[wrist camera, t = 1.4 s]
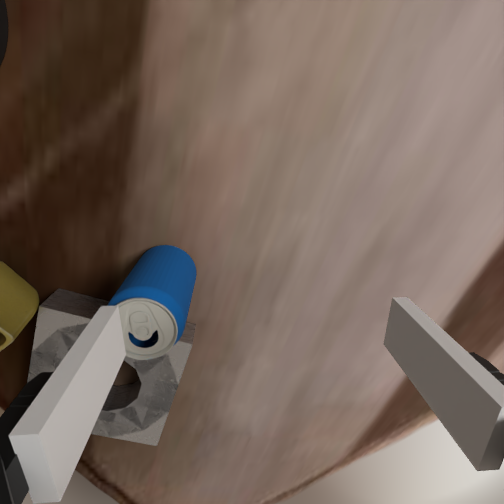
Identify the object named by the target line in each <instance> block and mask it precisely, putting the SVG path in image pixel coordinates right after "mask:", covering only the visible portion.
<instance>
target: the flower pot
mask: <svg viewBox="0 0 504 504" xmlns="http://www.w3.org/2000/svg"><path fill="white" fill-rule="evenodd" d="M38 305H39V296H38V293H37V291H36V290H35V289H34V288H33V287H32V286H31V285H29V284H28V283H27V282H26V281H25V280H24V279H22V278H21V277H20V276H19V275H18V274H16V273H15V272H14V271H13V270H12V269H11V268H10V267H8V266H7V265H6V264H5V263H3V262H2V261H0V351H1V350H3V349H4V348H5V347H7V346H8V345H9V344H11V343H12V342H13V341H14V340H15V338H16V337H17V336H18V335H19V333H20V332H21V331H22V330H23V328H24V327H25V326H26V325H27V323H28V322H29V321H30V320H31V318H32V317H33V316H34V314H35V313H36V311H37V309H38Z"/></svg>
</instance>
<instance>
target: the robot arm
mask: <svg viewBox="0 0 504 504" xmlns="http://www.w3.org/2000/svg"><path fill="white" fill-rule="evenodd" d="M7 39H8V17H7V10H6V4H5V0H0V65H1V63H2V60H3V58H4V54H5V51H6V46H7ZM384 345H385V347H386V348H387V349H388V351H389V352H390V353H391V355H392V356H393V357H394V359H395V360H396V362H397V363H398V364H399V366H400V367H401V368H402V370H403V371H404V372H405V374H406V375H407V376H408V378H409V379H410V381H411V382H412V383H413V385H414V386H415V387H416V389H417V390H418V391H419V393H420V394H421V395H422V397H423V398H424V399H425V401H426V402H427V404H428V405H429V406H430V408H431V409H432V410H433V412H434V413H435V414H436V416H437V417H438V418H439V420H440V421H441V423H442V424H443V425H444V427H445V428H446V429H447V431H448V432H449V433H450V435H451V436H452V437H453V439H454V440H455V441H456V443H457V444H458V446H459V447H460V448H461V450H462V451H463V452H464V454H465V455H466V456H467V458H468V459H469V461H470V462H471V463H472V465H473V466H474V467H475V469H476V470H477V471H485V470H498V469H499V468H500V466H501V464H502V462H503V459H504V374H502V373H500V372H499V370H498V369H497V368H496V367H494V366H493V365H492V364H491V363H490V362H489V361H487V360H486V359H484V358H482V357H480V356H479V355H477V354H475V353H474V352H473V353H468V352H467V351H466V350H465V349H463V348H462V347H461V346H460V345H459V344H458V343H457V342H456V341H455V340H454V339H453V338H451V337H450V336H449V335H448V334H447V333H446V332H445V331H444V330H443V329H442V328H441V327H439V326H438V325H437V324H436V323H435V322H434V321H433V320H432V319H431V318H430V317H429V316H427V315H426V314H425V313H424V312H423V311H422V310H421V309H420V308H419V307H418V306H417V305H416V304H414V303H413V302H412V301H411V300H410V299H409V298H408V297H393V298H392V303H391V308H390V313H389V318H388V324H387V329H386V334H385V339H384ZM125 356H126V351H125V345H124V339H123V333H122V327H121V320H120V314H119V308H118V306H101V307H100V308H99V310H98V311H97V312H96V314H95V315H94V317H93V318H92V319H91V321H90V322H89V324H88V325H87V326H86V328H85V329H84V331H83V332H82V333H81V335H80V336H79V338H78V339H77V340H76V342H75V343H74V345H73V346H72V347H71V349H70V350H69V352H68V353H67V354H66V356H65V357H64V359H63V360H62V361H61V363H60V364H59V366H58V367H57V368H56V370H55V371H54V372H41V373H40V374H38V375H37V376H36V377H34V378H33V379H32V380H30V381H29V382H28V383H27V384H26V385H25V386H24V388H23V389H22V390H21V391H20V393H19V394H18V397H16V398H15V399H14V400H13V402H12V403H11V404H10V407H9V408H7V409H6V410H5V412H4V413H3V414H2V416H1V417H0V504H21V503H22V502H23V500H24V498H25V496H26V494H27V493H28V491H29V493H30V496H31V499H32V502H33V503H48V502H60V501H61V499H62V496H63V494H64V492H65V490H66V487H67V485H68V483H69V481H70V479H71V476H72V474H73V472H74V470H75V467H76V465H77V463H78V461H79V458H80V456H81V454H82V452H83V450H84V447H85V445H86V443H87V441H88V438H89V436H90V434H91V432H92V429H93V427H94V425H95V423H96V420H97V418H98V416H99V414H100V412H101V409H102V407H103V405H104V403H105V400H106V398H107V396H108V394H109V391H110V389H111V387H112V385H113V382H114V380H115V378H116V376H117V374H118V371H119V369H120V367H121V365H122V362H123V360H124V358H125Z"/></svg>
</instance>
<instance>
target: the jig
mask: <svg viewBox="0 0 504 504" xmlns="http://www.w3.org/2000/svg"><path fill="white" fill-rule="evenodd" d="M109 302H110V301H106V300H102V299H98V298H94V297H90V296H87V295H83V294H79V293H75V292H71V291H68V290H64V289H60V288H59V289H58V290H56V291H55V292H54V293H53V294H52V295H51V296H50V297H49V298H48V299H47V300H45V301H44V302H43V303H42V304H41V305H40V306H39V311H38V317H37V323H36V330H35V336H34V342H33V349H32V355H31V361H30V368H29V374H28V380H27V383H28V382H29V381H30V380H32V379H33V378H34V377H36V376H37V375H38V374H40V373H41V372H54V371H55V370H56V368H57V367H58V366H59V364H60V363H61V361H62V360H63V359H64V357H65V356H66V354H67V353H68V352H69V350H70V349H71V347H72V346H73V345H74V343H75V342H76V340H77V339H78V338H79V336H80V335H81V333H82V332H83V331H84V329H85V328H86V326H87V325H88V324H89V322H90V321H91V319H92V318H93V317H94V315H95V314H96V312H97V311H98V310H99V308H100V307H101V306H107V305H108V303H109ZM195 327H196V324H194V323H190V322H186V324H185V328H184V332H183V334H182V336H181V338H180V339H179V341H178V342H177V343H176V344H175V345H174V346H173V347H172V348H171V349H170V350H169V351H168V352H167V353H165V354H164V355H162V356H160V357H157V358H154V359H149V360H137V359H132V358H129V357H127V356H125V358H124V361H126V362H127V363H128V364H130V365H131V366H132V367H133V368H135V369H136V371H137V373H138V376H139V378H140V379H139V380H138V381H136V382H135V383H132V384H127V385H122V386H115V385H112V387H111V389H110V391H109V394H108V396H107V398H106V400H105V403H104V405H103V407H102V409H101V412H100V414H99V416H98V418H97V420H96V423H95V425H94V427H93V429H92V432H91V434H95V435H101V436H106V437H111V438H117V439H122V440H127V441H133V442H138V443H144V444H149V445H154V446H157V444H158V441H159V438H160V436H161V433H162V430H163V427H164V424H165V421H166V418H167V416H168V413H169V410H170V407H171V404H172V401H173V398H174V396H175V393H176V390H177V387H178V384H179V381H180V379H181V376H182V373H183V370H184V367H185V364H186V361H187V359H188V356H189V353H190V350H191V347H192V344H193V338H194V333H195Z"/></svg>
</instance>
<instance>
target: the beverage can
mask: <svg viewBox="0 0 504 504" xmlns="http://www.w3.org/2000/svg"><path fill="white" fill-rule="evenodd" d="M195 280H196V267H195V264H194V262H193V260H192V259H191V257H190V256H189V255H188V254H187V253H186V252H185V251H183V250H182V249H180V248H177V247H175V246H170V245H160V246H156V247H153V248H151V249H149V250H148V251H146V252H145V253H144V254H143V255H142V257H141V258H140V259H139V261H138V262H137V264H136V265H135V266H134V268H133V269H132V271H131V272H130V273H129V275H128V276H127V278H126V279H125V280H124V282H123V283H122V285H121V286H120V288H119V289H118V290H117V292H116V293H115V295H114V296H113V297H112V299H111V300H110V302H109V303H108V305H107V306H118V308H119V314H120V320H121V327H122V333H123V339H124V345H125V351H126V356H127V357H129V358H132V359H137V360H149V359H154V358H157V357H160V356H162V355H164V354H165V353H167V352H168V351H169V350H170V349H171V348H172V347H173V346H174V345H175V344H176V343H177V342H178V341H179V339H180V338H181V336H182V334H183V332H184V328H185V324H186V320H187V315H188V311H189V306H190V302H191V297H192V293H193V289H194V284H195Z"/></svg>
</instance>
